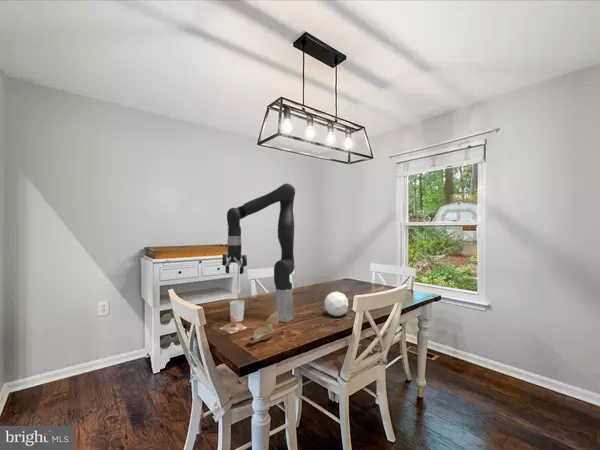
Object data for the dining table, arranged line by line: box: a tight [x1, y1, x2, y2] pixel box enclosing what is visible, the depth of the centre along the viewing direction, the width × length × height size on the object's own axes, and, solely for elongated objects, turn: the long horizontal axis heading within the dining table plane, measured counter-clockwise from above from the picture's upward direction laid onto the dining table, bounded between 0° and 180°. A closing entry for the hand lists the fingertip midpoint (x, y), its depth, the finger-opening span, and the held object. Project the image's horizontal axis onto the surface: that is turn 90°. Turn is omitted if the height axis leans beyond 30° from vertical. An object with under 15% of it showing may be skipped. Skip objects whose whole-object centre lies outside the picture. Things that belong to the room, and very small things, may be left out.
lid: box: [222, 316, 245, 333], centre depth 139 cm, size 10×10×6 cm
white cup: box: [229, 299, 245, 323], centre depth 152 cm, size 8×8×10 cm
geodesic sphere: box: [323, 291, 349, 317], centre depth 163 cm, size 15×14×14 cm
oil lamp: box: [247, 310, 279, 344], centre depth 128 cm, size 9×21×10 cm, turn 152°
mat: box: [218, 326, 248, 334], centre depth 139 cm, size 10×10×1 cm
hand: (234, 273), depth 153 cm, fingers open, 8 cm apart
